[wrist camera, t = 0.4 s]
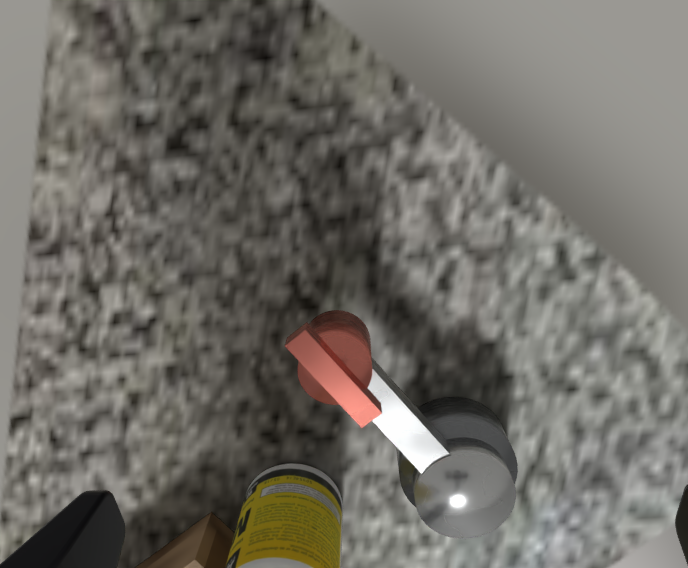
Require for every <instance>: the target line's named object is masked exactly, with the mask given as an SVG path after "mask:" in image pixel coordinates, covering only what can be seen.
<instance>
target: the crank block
mask: <svg viewBox="0 0 688 568" xmlns="http://www.w3.org/2000/svg"><path fill="white" fill-rule="evenodd" d="M418 409H419V410H420V412H421V413H422V414H423V415H424V416H425V417H426V418H427V419H428V420H429V422H430V423H431V424H432V425H433V426H434V427H435V428H436V429H437V430H438V432H439V433H440V434H441V435H442V436H443V437H444V438H445V439H446V440H447V439H451V438H458V437H468V438H474V439H478V440H481V441H484V442H486V443H488V444H489V445H491V446H492V447H494V448H495V449H496V450H497V451H498V452H499V453H500V454H501V456H502V457H503V459H504V461H505V463H506V465H507V467H508V470H509V472H510V475H511V477H512V479H513V482H514V484H515V481H516V478H517V460H516V456H515V453H514V451H513V449H512V446H511V444H510V442H509V440H508V438H507V436H506V433H505V431H504V429H503V427H502V425H501V423H500V421H499V419H498V418H497V417H496V415H495V414H494V413H493V412H492V411H491V410H489V409H488V408H487V407H485V406H484V405H482V404H480V403H478V402H476V401H473V400H470V399H466V398H459V397H449V398H441V399H437V400H434V401H431V402H428V403H426V404H424V405H422V406H421V407H419V408H418ZM396 449H397V458H398V466H399V474H400V482H401V486H402V489H403V491H404V493H405V495H406V496H407V498H408V499H409V501H410V502H411V503H412V504H413V505H414V506H415V507H416V503H415V497H414V490H413V482H412V477H413V471H414V468H415V466H414V465H413V464H412V463H411V462H410V461H409V460H408V459H407V458H406V456H405V455H404V454H403V453H402V452H401V451H400V450H399V449H398V448H397V447H396Z"/></svg>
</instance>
